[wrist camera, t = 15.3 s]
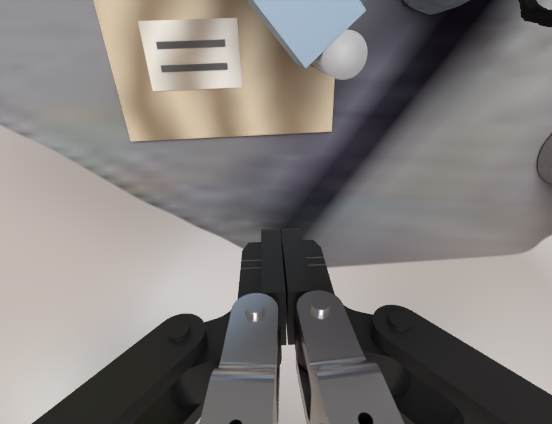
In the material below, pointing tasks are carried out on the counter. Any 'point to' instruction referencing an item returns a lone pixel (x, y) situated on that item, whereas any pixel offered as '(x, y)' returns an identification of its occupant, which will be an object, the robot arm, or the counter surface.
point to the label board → (208, 72)
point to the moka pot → (432, 3)
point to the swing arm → (317, 33)
